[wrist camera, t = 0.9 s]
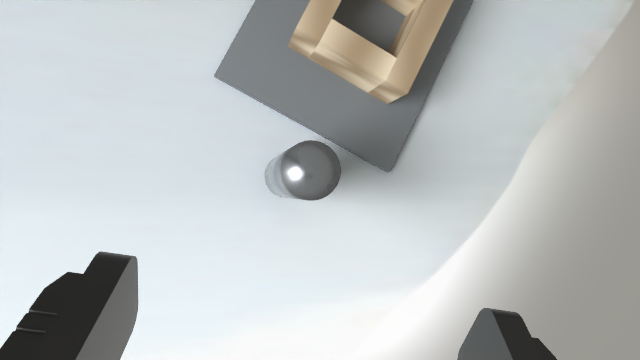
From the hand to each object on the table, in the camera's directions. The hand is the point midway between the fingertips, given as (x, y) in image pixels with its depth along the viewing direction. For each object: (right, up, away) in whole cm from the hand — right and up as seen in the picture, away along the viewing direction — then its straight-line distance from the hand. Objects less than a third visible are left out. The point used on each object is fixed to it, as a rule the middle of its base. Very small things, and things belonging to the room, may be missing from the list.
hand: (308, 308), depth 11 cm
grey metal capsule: (-2, +3, +23) cm, 24 cm away
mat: (+3, +14, +25) cm, 29 cm away
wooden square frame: (+4, +15, +24) cm, 29 cm away
